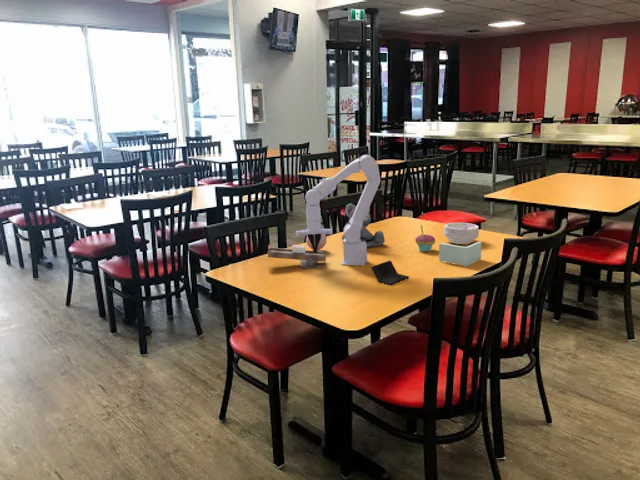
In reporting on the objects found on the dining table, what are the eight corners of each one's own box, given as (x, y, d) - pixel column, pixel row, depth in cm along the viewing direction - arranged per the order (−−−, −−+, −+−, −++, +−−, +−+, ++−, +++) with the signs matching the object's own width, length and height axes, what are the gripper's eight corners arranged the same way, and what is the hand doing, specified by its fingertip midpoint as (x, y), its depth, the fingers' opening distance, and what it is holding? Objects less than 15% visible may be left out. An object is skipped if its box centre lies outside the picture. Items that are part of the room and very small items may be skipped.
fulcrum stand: (316, 260, 216) (316, 251, 215) (319, 267, 206) (318, 258, 205) (300, 261, 216) (299, 252, 215) (301, 268, 206) (301, 259, 205)
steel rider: (304, 252, 212) (304, 245, 211) (304, 255, 208) (305, 248, 207) (292, 251, 211) (292, 244, 211) (292, 254, 207) (293, 247, 206)
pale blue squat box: (480, 259, 209) (481, 241, 207) (466, 266, 200) (466, 248, 198) (454, 254, 217) (454, 237, 215) (439, 261, 208) (439, 243, 207)
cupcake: (413, 252, 222) (413, 225, 220) (417, 247, 230) (417, 221, 227) (433, 253, 219) (433, 226, 216) (436, 248, 227) (437, 222, 224)
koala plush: (387, 245, 236) (387, 203, 231) (356, 252, 226) (355, 208, 221) (363, 238, 250) (362, 198, 245) (333, 245, 240) (332, 203, 235)
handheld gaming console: (395, 282, 181) (382, 258, 183) (381, 291, 185) (368, 267, 187) (411, 278, 190) (398, 254, 192) (397, 287, 194) (384, 264, 196)
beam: (323, 256, 215) (324, 248, 214) (325, 261, 208) (326, 253, 207) (267, 252, 212) (268, 244, 211) (267, 257, 205) (268, 248, 204)
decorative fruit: (315, 255, 224) (314, 232, 222) (303, 251, 230) (302, 230, 228) (331, 250, 230) (330, 229, 228) (319, 247, 236) (318, 226, 234)
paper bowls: (482, 240, 238) (482, 223, 236) (472, 248, 226) (473, 230, 224) (450, 237, 246) (450, 220, 244) (439, 244, 234) (439, 227, 232)
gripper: (330, 216, 211) (331, 248, 214) (295, 218, 210) (296, 250, 213) (332, 220, 204) (333, 253, 208) (295, 222, 203) (297, 255, 207)
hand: (315, 252), depth 210 cm, fingers closed
